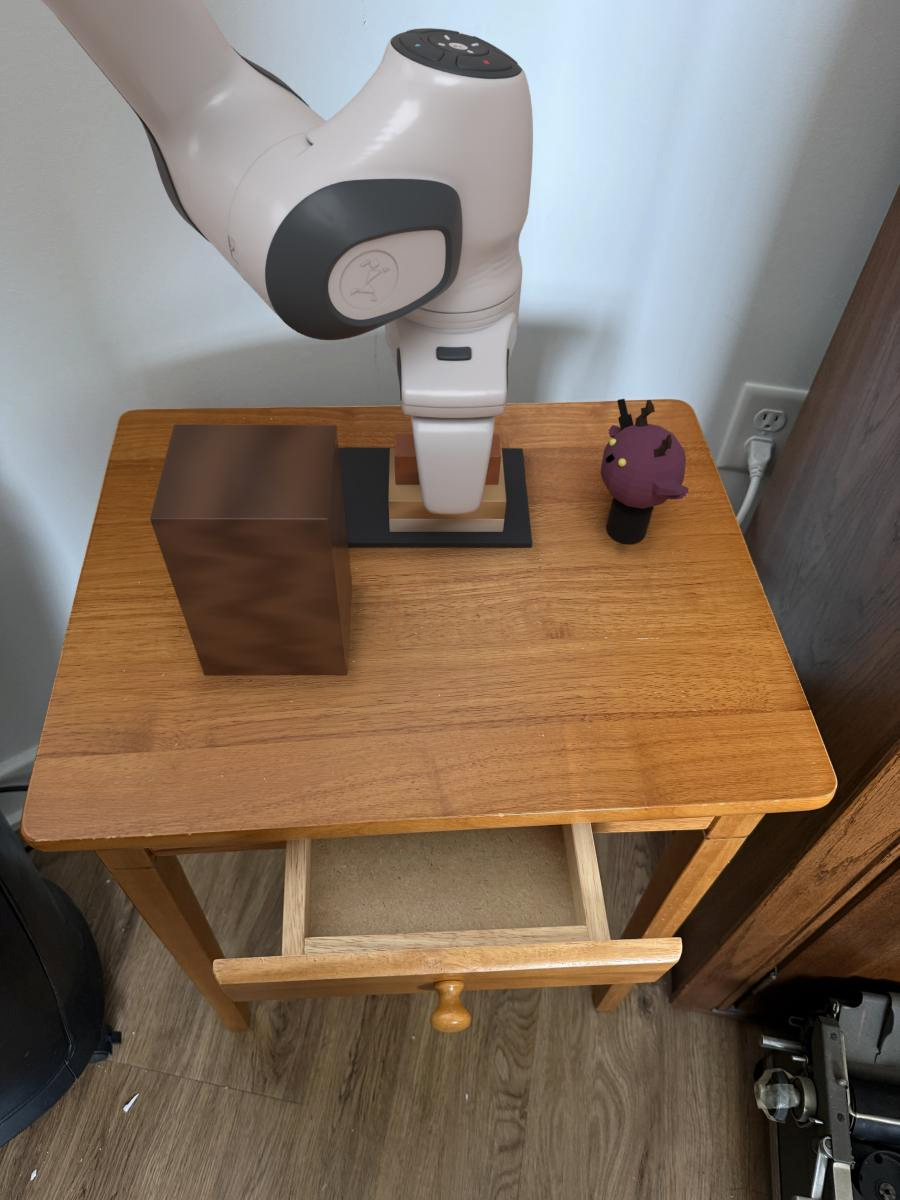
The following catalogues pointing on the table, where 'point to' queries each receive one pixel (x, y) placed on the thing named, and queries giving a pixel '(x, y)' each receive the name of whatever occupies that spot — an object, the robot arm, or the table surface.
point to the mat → (371, 529)
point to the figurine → (640, 473)
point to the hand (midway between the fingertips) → (447, 468)
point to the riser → (258, 546)
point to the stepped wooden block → (414, 517)
